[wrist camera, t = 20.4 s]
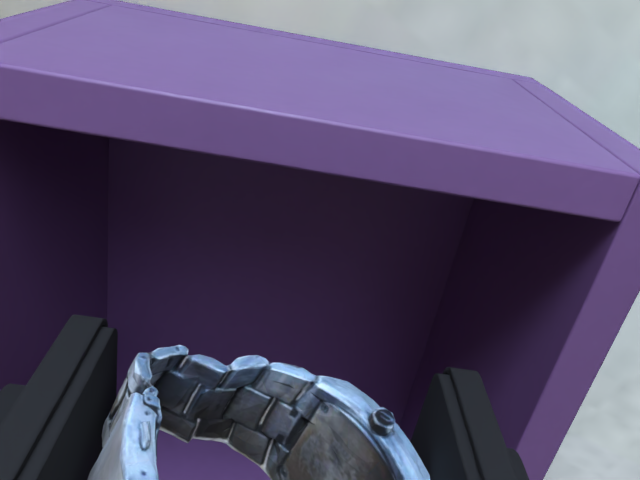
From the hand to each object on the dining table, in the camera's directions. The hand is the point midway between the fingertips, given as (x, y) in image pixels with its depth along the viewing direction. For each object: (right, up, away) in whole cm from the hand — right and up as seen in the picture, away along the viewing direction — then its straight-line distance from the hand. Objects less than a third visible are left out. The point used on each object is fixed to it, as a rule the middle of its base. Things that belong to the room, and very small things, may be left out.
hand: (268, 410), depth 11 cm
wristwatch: (0, 0, +1) cm, 1 cm away
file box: (0, +2, +11) cm, 11 cm away
